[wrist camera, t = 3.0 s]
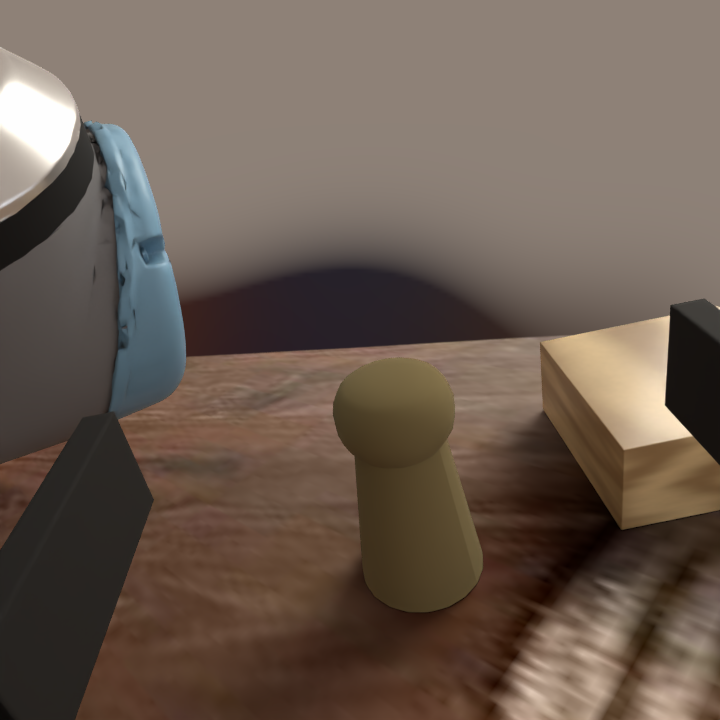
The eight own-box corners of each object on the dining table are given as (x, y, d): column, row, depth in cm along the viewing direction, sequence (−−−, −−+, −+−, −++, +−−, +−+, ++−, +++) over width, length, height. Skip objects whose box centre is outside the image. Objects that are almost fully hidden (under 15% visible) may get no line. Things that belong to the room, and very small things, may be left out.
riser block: (621, 530, 30) (623, 450, 28) (542, 409, 40) (539, 341, 38) (841, 485, 30) (863, 401, 28) (709, 375, 40) (717, 305, 37)
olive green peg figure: (339, 562, 32) (289, 383, 26) (426, 501, 34) (396, 327, 29) (416, 637, 27) (374, 438, 22) (509, 560, 30) (492, 366, 25)
